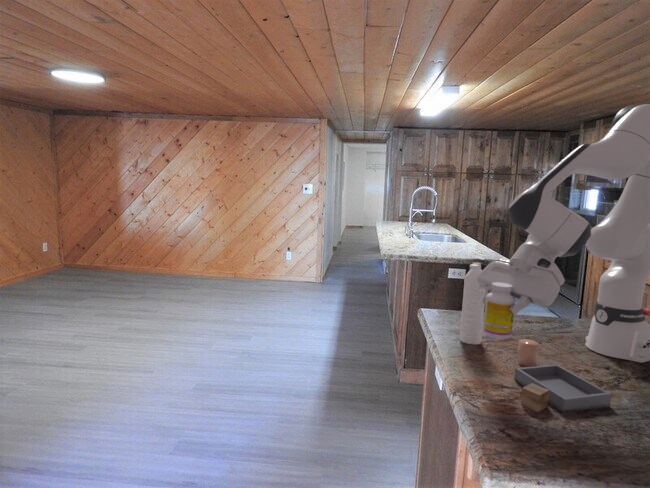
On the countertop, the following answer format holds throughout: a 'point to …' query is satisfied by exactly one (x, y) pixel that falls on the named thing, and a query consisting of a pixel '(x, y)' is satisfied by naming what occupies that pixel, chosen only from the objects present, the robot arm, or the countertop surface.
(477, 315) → the water bottle
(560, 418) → the countertop surface
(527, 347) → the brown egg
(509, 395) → the countertop surface
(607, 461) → the countertop surface
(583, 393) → the tray
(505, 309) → the supplement bottle
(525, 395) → the walnut block
